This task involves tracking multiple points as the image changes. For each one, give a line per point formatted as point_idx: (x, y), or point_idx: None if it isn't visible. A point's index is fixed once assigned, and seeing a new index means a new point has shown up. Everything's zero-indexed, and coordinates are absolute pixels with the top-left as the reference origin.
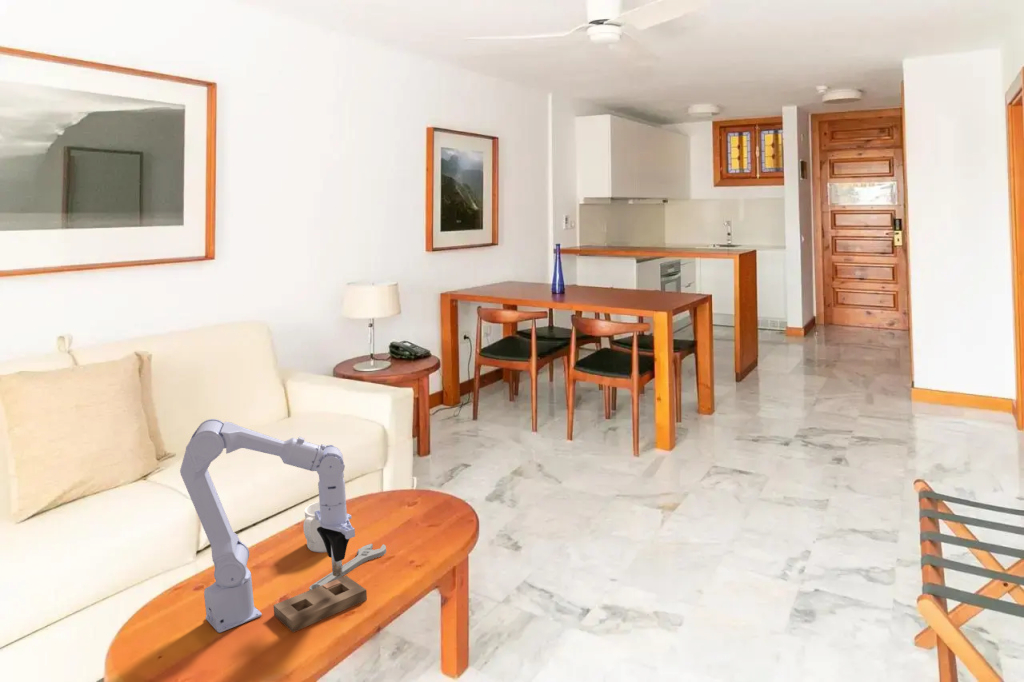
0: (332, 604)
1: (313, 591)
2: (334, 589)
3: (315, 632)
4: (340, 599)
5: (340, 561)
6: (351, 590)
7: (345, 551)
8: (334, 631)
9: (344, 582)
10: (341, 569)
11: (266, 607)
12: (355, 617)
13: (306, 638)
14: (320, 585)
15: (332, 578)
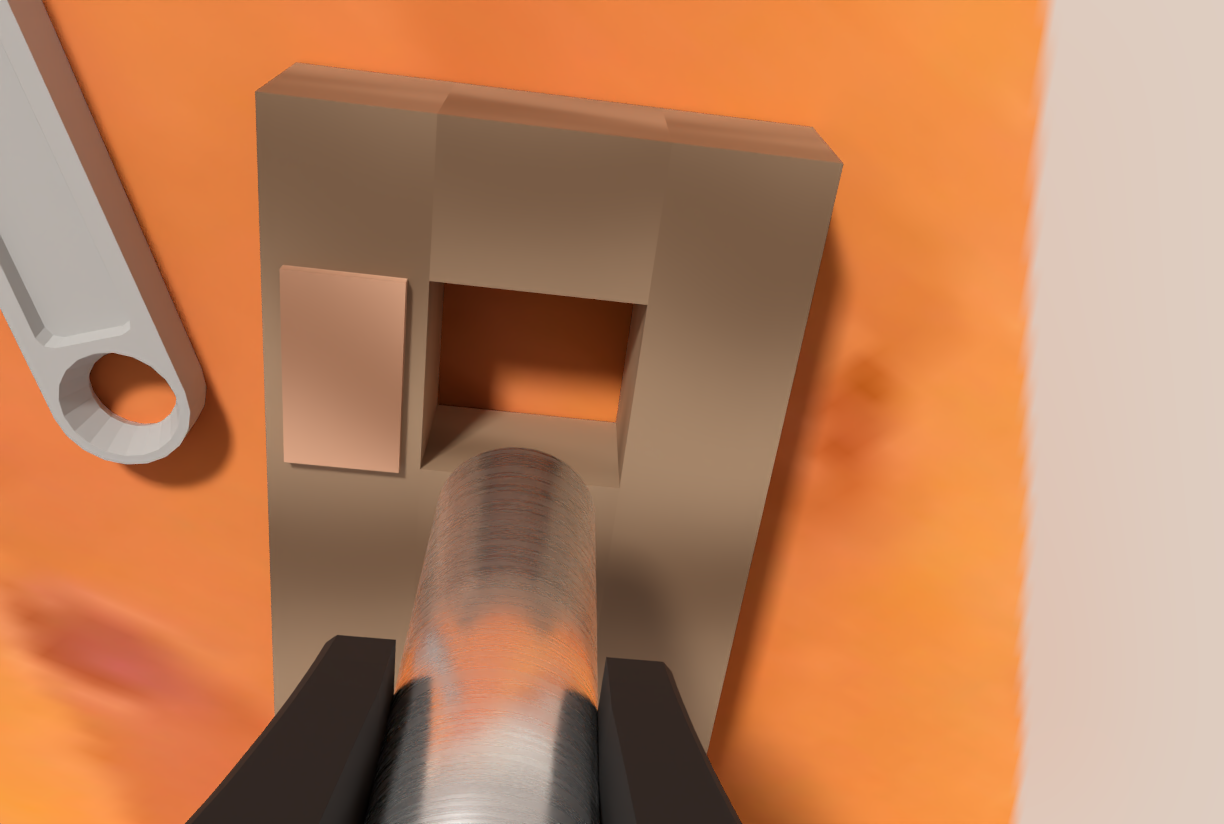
0: (742, 598)
1: (329, 582)
2: (429, 369)
3: (817, 741)
4: (741, 502)
5: (595, 662)
6: (684, 304)
7: (717, 782)
8: (952, 653)
9: (423, 233)
10: (590, 544)
11: (125, 787)
12: (962, 426)
13: (821, 811)
14: (135, 352)
15: (65, 152)
